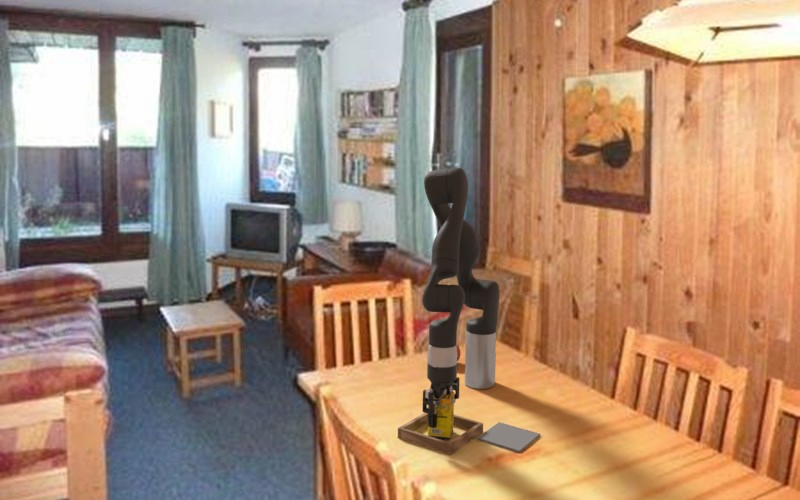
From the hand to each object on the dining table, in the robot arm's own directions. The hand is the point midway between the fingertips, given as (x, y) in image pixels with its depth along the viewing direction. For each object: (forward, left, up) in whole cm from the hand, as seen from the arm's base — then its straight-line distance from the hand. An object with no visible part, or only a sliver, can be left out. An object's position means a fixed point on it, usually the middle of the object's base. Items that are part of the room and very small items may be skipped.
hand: (440, 421), depth 177 cm
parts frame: (0, 0, -4) cm, 4 cm away
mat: (-9, +15, -4) cm, 18 cm away
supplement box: (0, 0, -4) cm, 4 cm away
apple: (-48, -28, -4) cm, 55 cm away
